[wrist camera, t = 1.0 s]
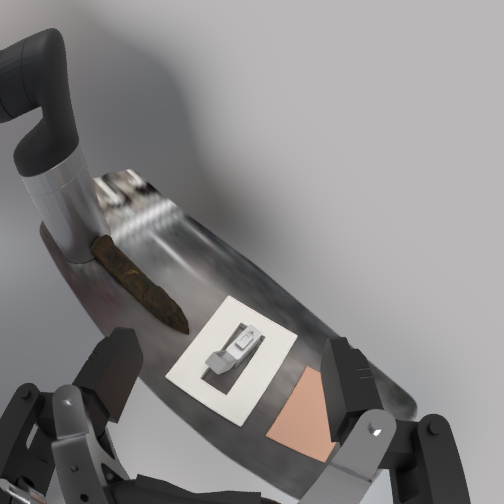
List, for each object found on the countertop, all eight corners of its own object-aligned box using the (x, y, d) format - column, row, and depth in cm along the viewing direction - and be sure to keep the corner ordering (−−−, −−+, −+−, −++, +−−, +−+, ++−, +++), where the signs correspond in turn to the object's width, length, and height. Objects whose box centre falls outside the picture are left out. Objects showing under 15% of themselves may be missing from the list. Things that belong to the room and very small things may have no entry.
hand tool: (94, 261, 37) (84, 242, 33) (114, 246, 39) (105, 226, 35) (173, 349, 31) (167, 337, 27) (196, 328, 33) (192, 313, 29)
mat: (265, 435, 25) (265, 435, 25) (306, 366, 31) (307, 366, 30) (323, 462, 23) (324, 462, 23) (358, 393, 29) (359, 393, 29)
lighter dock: (167, 378, 28) (165, 376, 27) (228, 300, 35) (228, 295, 34) (240, 426, 26) (240, 426, 24) (294, 339, 33) (297, 335, 32)
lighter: (247, 336, 33) (254, 309, 26) (257, 345, 32) (268, 320, 26) (207, 376, 29) (203, 360, 23) (218, 386, 28) (218, 373, 22)
